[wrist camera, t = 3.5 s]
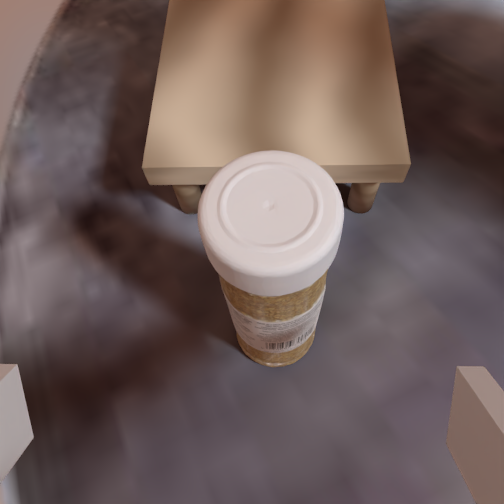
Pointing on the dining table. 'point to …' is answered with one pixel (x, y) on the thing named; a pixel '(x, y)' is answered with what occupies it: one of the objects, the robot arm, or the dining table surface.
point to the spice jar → (272, 248)
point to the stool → (276, 93)
